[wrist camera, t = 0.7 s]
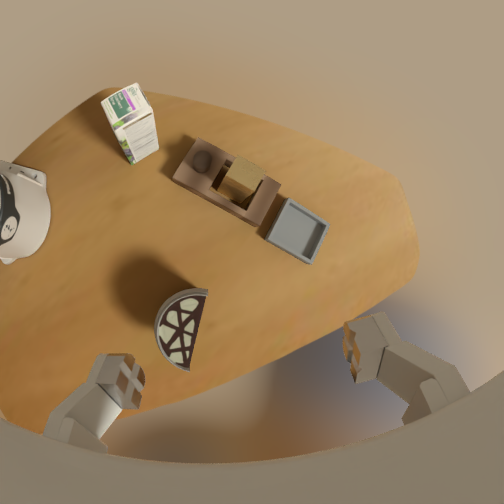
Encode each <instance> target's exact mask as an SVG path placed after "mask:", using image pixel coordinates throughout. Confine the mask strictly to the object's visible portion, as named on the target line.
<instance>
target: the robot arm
mask: <svg viewBox="0 0 504 504" xmlns="http://www.w3.org/2000/svg"><path fill="white" fill-rule="evenodd" d="M36 175H37V177H36ZM35 177H36V179H35ZM49 224H50V203H49V198H48V195H47V192H46V174H45V173H44V172H41V171H38V170H34V169H30V168H27V167H23V166H20V165H16V164H12V163H8V162H5V161H0V259H1V260H2V262H3V263H4V264H11V263H12V262H13V261H15V260H16V259H17V258H23V257H27V256H30V255H31V254H33V253H34V252H35V251H36V250H37V249H38V248H39V247H40V246H41V244H42V243H43V241H44V239H45V237H46V234H47V232H48V228H49ZM343 329H344V332H345V336H344V337H343V350H344V354H345V357H346V360H347V361H348V362H349V363H351V368H350V371H351V374H352V376H353V379H354V382H355V384H358V383H362V382H365V381H369V380H372V379H376V378H377V380H378V381H379V382H381V383H382V384H383V385H385V386H386V387H387V388H389V389H390V390H391V391H393V392H394V393H395V394H397V395H398V396H399V397H400V398H402V399H403V400H404V401H406V402H407V403H409V404H410V405H409V406H408V408H407V410H406V411H405V413H404V415H403V417H402V421H403V423H404V426H402V427H399V428H397V429H394V430H391V431H389V432H386V433H384V434H380V435H378V436H374V437H371V438H368V439H365V440H362V441H359V442H355V443H352V444H348V445H344V446H341V447H337V448H333V449H329V450H324V451H320V452H315V453H310V454H305V455H300V456H294V457H288V458H281V459H273V460H265V461H255V462H243V463H219V464H195V463H172V462H160V461H151V460H142V459H135V458H128V457H122V456H117V455H111V454H107V450H108V447H107V445H106V444H105V443H103V442H102V441H101V440H99V439H100V437H101V436H102V435H103V434H104V432H105V431H106V430H107V429H108V427H109V426H110V425H111V423H112V422H113V421H114V420H115V418H116V417H117V416H118V415H119V413H120V412H121V411H122V409H139V407H140V402H141V398H142V395H141V393H140V391H141V390H142V389H143V388H144V385H145V374H144V371H143V369H142V368H141V366H139V365H138V364H136V363H135V358H134V357H133V355H132V354H128V353H121V354H99V355H98V356H97V357H96V360H95V362H94V364H93V367H92V369H91V372H90V374H89V376H88V379H87V381H86V383H83V384H82V385H80V386H79V387H78V388H77V389H76V390H75V391H74V392H73V393H72V394H70V395H69V396H68V397H67V398H66V399H65V400H64V401H63V402H62V403H61V404H59V405H58V406H57V407H56V408H55V409H54V410H53V411H52V412H51V413H50V416H49V418H48V421H47V424H46V427H45V429H44V432H43V435H40V434H37V433H35V432H32V431H30V430H27V429H25V428H22V427H20V426H18V425H15V424H13V423H11V422H9V421H7V420H5V419H3V418H0V504H504V371H502V372H501V373H500V374H498V375H497V376H495V377H494V378H492V379H491V380H489V381H488V382H487V383H485V384H483V385H482V386H480V387H479V388H477V389H475V390H474V391H472V392H470V391H469V389H468V388H467V386H466V384H465V382H464V381H463V379H462V377H461V375H460V374H459V372H458V370H457V369H456V367H455V366H454V365H452V364H450V363H448V362H446V361H444V360H442V359H440V358H438V357H436V356H434V355H432V354H430V353H428V352H426V351H424V350H422V349H421V348H419V347H417V346H415V345H413V344H411V343H409V342H407V341H403V342H402V341H401V339H400V337H399V335H398V334H397V332H396V330H395V329H394V327H393V326H392V324H391V322H390V321H389V319H388V317H387V316H386V314H385V313H384V312H380V313H376V314H372V315H370V316H369V315H368V316H365V317H361V318H357V319H354V320H350V321H346V322H345V323H344V328H343Z"/></svg>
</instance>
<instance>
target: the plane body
mask: <svg viewBox="0 0 504 504" xmlns="http://www.w3.org/2000/svg"><path fill="white" fill-rule="evenodd" d="M235 159H236V158H235V157H234V156H232V155H230V154H228V153H226V152H225V151H223V150H221V149H219V148H217V147H216V146H214V145H212V144H210V143H208V142H206V141H204V140H202V139H201V138H199V137H198V138H197V140H196V141H195V143H194V144H193V146H192V147H191V149H190V150H189V152H188V153H187V155H186V156H185V158H184V160H183V161H182V163H181V164H180V166H179V167H178V169H177V171H176V172H175V174H174V176H173V177H172V178H173V182H174V183H176V184H178V185H180V186H182V187H183V188H185V189H187V190H189V191H191V192H193V193H195V194H196V195H198V196H200V197H202V198H204V199H205V200H207V201H209V202H211V203H213V204H214V205H216V206H218V207H220V208H222V209H223V210H225V211H227V212H229V213H231V214H232V215H234V216H236V217H238V218H240V219H241V220H243V221H245V222H247V223H248V224H250V225H252V226H254V227H258V226H260V225H261V223H262V221H263V219H264V217H265V215H266V213H267V211H268V209H269V207H270V206H271V204H272V202H273V200H274V198H275V196H276V194H277V192H278V190H279V188H280V186H281V184H280V183H278V182H276V181H275V180H273V179H271V178H270V177H268V176H266V175H265V174H264V175H263V177H262V179H261V181H260V183H259V185H258V187H257V188H256V190H255V192H254V194H253V196H252V198H251V199H250V201H249V203H248V205H247V207H246V209H245V210H244V209H242V208H240V207H238V206H237V205H235V204H233V203H231V202H230V201H228V200H226V199H224V198H222V197H221V196H219V195H217V194H215V193H213V192H212V191H210V190H209V189H210V187H211V185H212V184H213V182H214V180H215V179H216V177H217V175H218V174H219V172H220V170H221V169H222V167H223V165H226V166H227V167H229V168H230V167H231V165H232V164H233V162H234V160H235Z"/></svg>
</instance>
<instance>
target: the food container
mask: <svg viewBox="0 0 504 504" xmlns="http://www.w3.org/2000/svg"><path fill="white" fill-rule="evenodd" d="M206 296H208V289H202V288H193V289H186V290H183V291H180V292H178V293H176V294H174V295H173V296H171V297H170V298H168V299H167V300H166V301H165V302H164V303H163V305H162V306H161V308H160V309H159V311H158V313H157V316H156V319H155V325H154V333H155V338H156V342H157V344H158V347H159V349H160V351H161V352H162V354H163V355H164V357H165V358H166V359H167V360H168V361H169V362H170V363H172V364H173V365H175V366H176V367H178V368H180V369H182V370H184V371H188V372H190V361H191V357H192V352H193V348H194V344H195V340H196V336H197V332H198V327H199V323H200V319H201V315H202V311H203V307H204V303H205V299H206Z"/></svg>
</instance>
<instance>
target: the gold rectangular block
mask: <svg viewBox="0 0 504 504" xmlns="http://www.w3.org/2000/svg"><path fill="white" fill-rule="evenodd" d="M265 172H266V171H265V170H264V169H262V168H260V167H259V166H257V165H255V164H254V163H252V162H250V161H248V160H247V159H245V158H243V157H241V156H240V155H237V157H236V159H235V160H234V162H233V164H232V165H231V167H230V168H229V170H228V172H227V174H226V175H225V177H224V179H223V181H222V182H221V184H220V186H219V188H218V190H217V191H218V192H220V193H221V194H223V195H225V196H227V197H229V198H230V199H232V200H234V201H236V202H237V203H239V204H240V203H241V202H243V201H244V200H245V199H246V198H247V197H249V196H250V195H251V194H252V193H253V192H255V190H256V188H257V186H258V184H259V183H260V181H261V179H262V177H263V175H264V173H265Z"/></svg>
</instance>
